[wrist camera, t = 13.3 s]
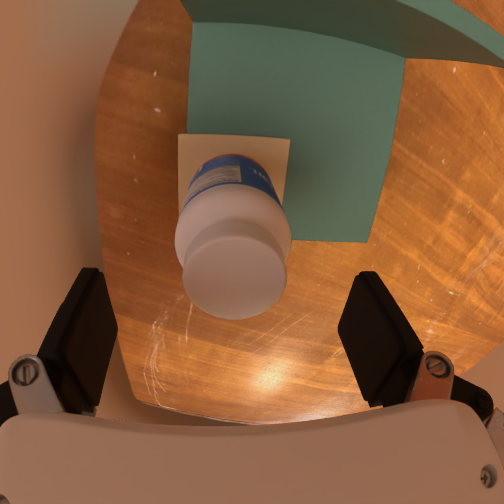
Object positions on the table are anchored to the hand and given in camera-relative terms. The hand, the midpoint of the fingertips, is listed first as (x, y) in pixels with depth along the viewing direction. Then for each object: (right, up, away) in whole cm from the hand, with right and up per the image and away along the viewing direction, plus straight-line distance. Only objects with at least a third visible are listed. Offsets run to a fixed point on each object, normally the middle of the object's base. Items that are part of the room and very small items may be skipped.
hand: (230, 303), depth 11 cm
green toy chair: (+3, +12, +10) cm, 16 cm away
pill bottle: (-1, +6, +9) cm, 11 cm away
